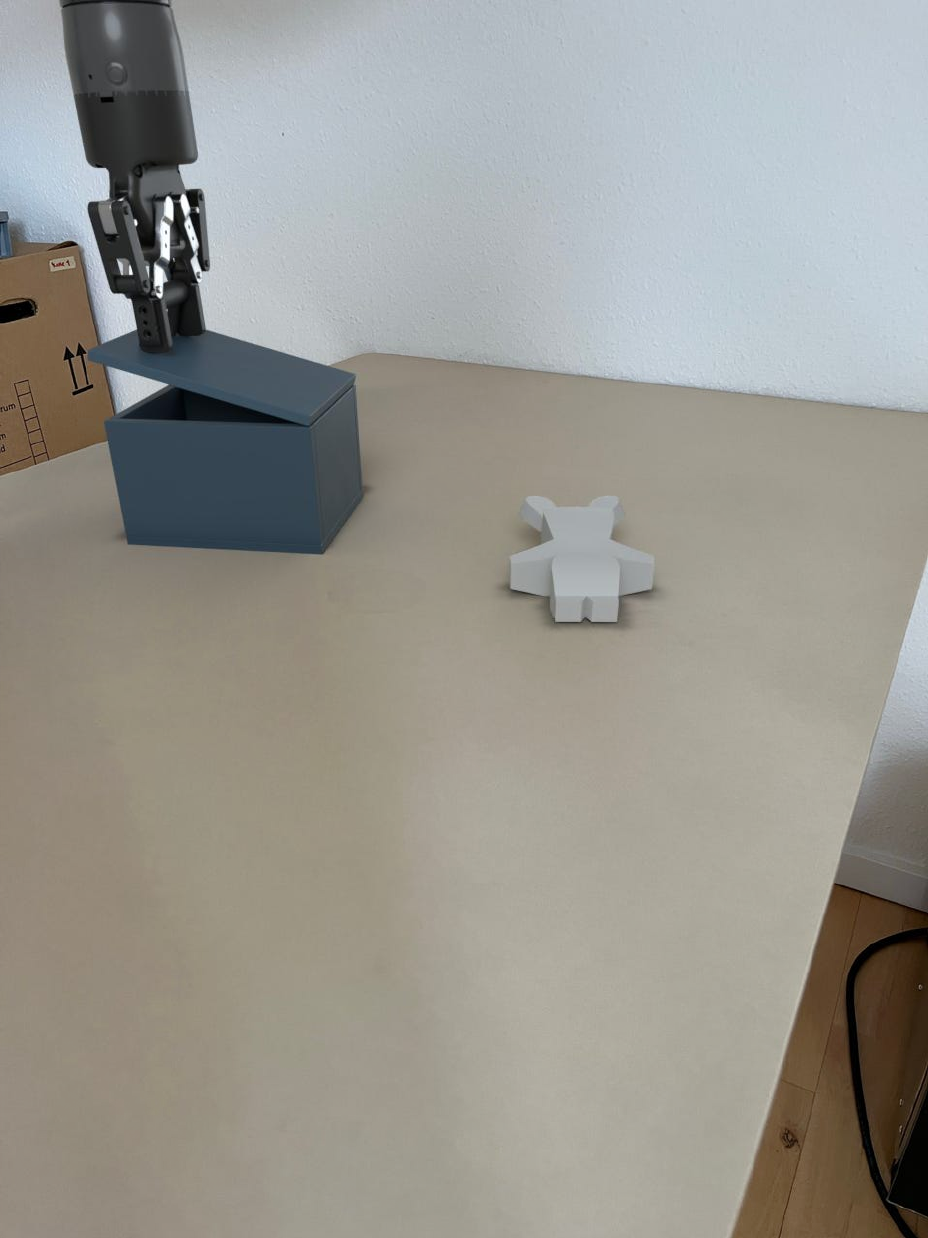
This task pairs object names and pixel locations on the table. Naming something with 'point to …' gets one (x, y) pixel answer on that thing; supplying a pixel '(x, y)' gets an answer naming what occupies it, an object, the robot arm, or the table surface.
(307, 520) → the bin
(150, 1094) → the table surface
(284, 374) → the bin lid
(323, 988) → the table surface
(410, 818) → the table surface
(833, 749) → the table surface
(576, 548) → the white teddy bear figure
